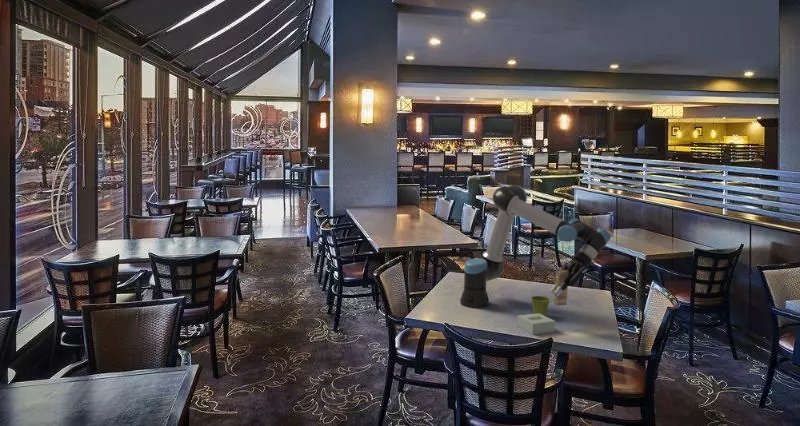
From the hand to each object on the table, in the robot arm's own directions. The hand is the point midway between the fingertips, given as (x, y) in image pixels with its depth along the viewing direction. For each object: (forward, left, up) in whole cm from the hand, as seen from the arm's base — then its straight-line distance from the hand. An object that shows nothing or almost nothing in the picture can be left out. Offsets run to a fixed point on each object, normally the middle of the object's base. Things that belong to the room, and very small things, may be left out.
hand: (554, 293), depth 247 cm
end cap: (0, -9, -16) cm, 19 cm away
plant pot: (-16, +5, -16) cm, 23 cm away
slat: (0, +4, -6) cm, 7 cm away
